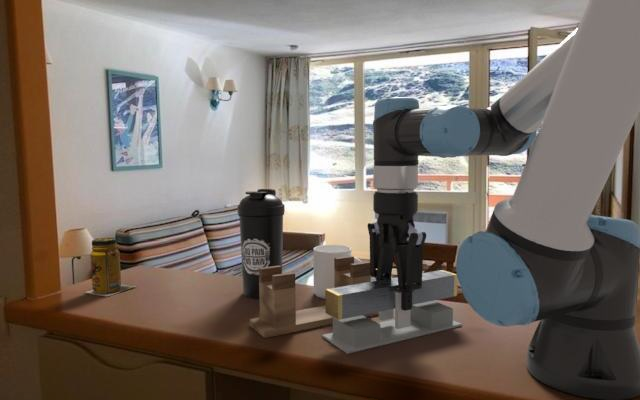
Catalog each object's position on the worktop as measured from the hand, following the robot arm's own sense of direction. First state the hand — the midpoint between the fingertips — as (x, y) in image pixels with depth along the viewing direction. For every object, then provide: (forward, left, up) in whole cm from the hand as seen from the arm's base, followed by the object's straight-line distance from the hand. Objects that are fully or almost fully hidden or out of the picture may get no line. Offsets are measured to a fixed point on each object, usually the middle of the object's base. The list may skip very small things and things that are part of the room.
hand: (394, 322), depth 89 cm
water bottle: (+33, +11, -2) cm, 35 cm away
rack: (+12, +9, -2) cm, 15 cm away
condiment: (+53, +40, -2) cm, 67 cm away
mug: (+23, -3, -2) cm, 23 cm away
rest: (0, 0, -2) cm, 2 cm away
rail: (0, 0, +3) cm, 3 cm away
